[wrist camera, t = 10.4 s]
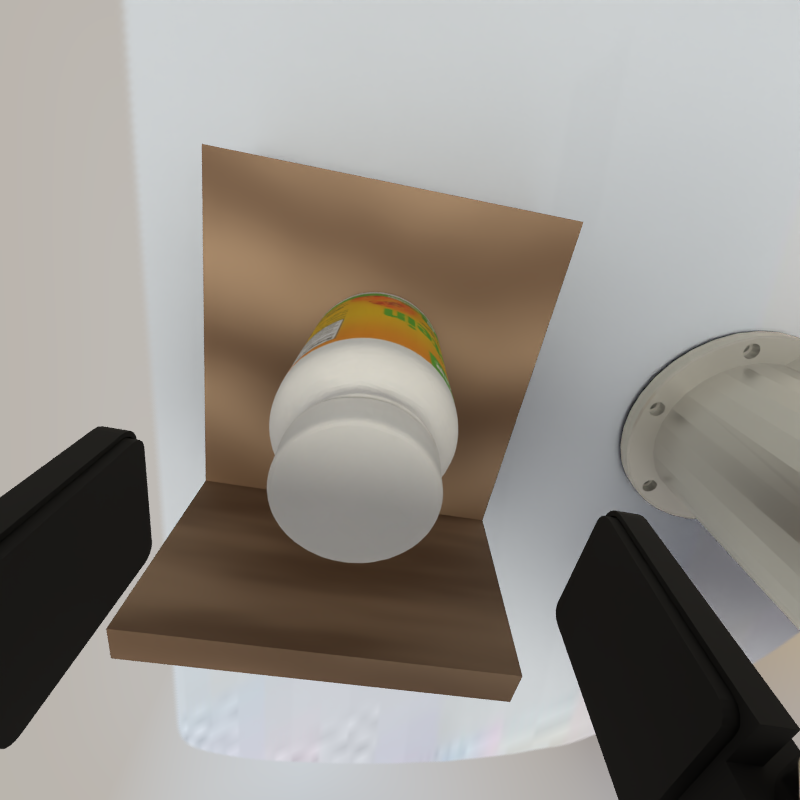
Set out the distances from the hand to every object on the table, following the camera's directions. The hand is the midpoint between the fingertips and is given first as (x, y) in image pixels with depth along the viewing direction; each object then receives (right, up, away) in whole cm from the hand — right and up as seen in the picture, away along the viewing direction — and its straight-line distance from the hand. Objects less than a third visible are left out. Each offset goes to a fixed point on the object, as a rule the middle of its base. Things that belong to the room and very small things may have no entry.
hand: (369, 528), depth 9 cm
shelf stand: (-1, +6, +15) cm, 17 cm away
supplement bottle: (0, +5, +10) cm, 11 cm away
